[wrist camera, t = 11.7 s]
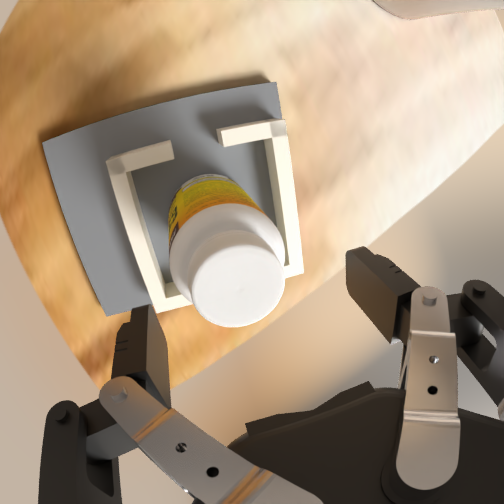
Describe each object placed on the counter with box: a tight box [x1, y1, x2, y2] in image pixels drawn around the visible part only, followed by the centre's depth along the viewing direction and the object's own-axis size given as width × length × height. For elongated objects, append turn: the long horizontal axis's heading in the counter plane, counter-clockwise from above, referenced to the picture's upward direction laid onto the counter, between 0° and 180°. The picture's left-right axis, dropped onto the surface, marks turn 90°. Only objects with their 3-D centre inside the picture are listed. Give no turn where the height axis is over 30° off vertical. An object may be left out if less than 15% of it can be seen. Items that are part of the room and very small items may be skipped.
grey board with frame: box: [42, 82, 304, 316], centre depth 21 cm, size 16×14×3 cm
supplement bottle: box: [168, 174, 285, 327], centre depth 18 cm, size 6×6×10 cm
